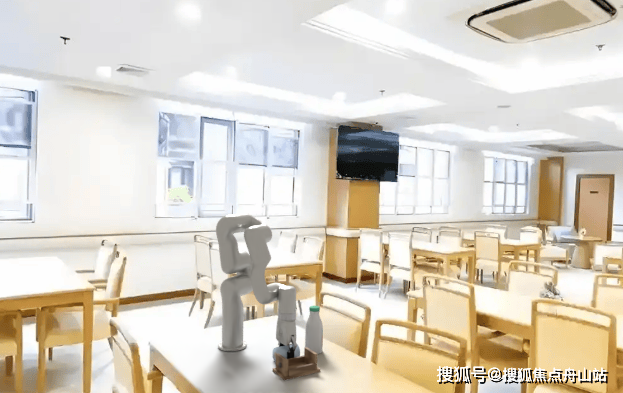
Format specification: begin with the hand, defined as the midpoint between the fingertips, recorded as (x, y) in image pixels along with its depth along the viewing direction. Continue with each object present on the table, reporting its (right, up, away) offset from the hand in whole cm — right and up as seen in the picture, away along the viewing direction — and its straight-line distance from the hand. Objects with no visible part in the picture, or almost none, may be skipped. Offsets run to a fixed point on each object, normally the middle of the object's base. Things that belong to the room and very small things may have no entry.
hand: (286, 357), depth 183 cm
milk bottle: (+12, -1, +10) cm, 15 cm away
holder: (+5, -1, -11) cm, 12 cm away
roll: (0, -1, 0) cm, 1 cm away
